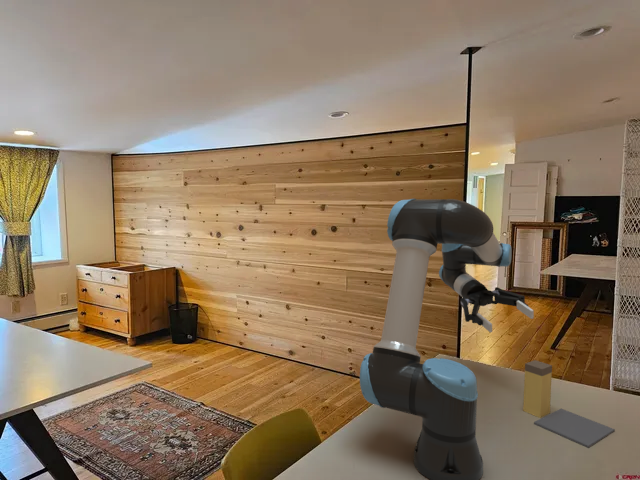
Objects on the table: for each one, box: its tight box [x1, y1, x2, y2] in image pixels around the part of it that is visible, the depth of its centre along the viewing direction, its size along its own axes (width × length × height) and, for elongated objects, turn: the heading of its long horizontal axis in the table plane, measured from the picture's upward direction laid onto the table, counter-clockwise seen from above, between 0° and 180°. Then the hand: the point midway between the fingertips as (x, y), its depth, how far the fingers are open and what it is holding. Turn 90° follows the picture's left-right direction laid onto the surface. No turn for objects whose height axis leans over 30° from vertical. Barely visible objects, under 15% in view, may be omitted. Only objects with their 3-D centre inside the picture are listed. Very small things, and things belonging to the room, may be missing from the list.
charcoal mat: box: [533, 408, 616, 449], centre depth 115 cm, size 14×14×1 cm
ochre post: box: [522, 359, 553, 419], centre depth 122 cm, size 5×5×14 cm
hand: (512, 321), depth 124 cm, fingers open, 13 cm apart
